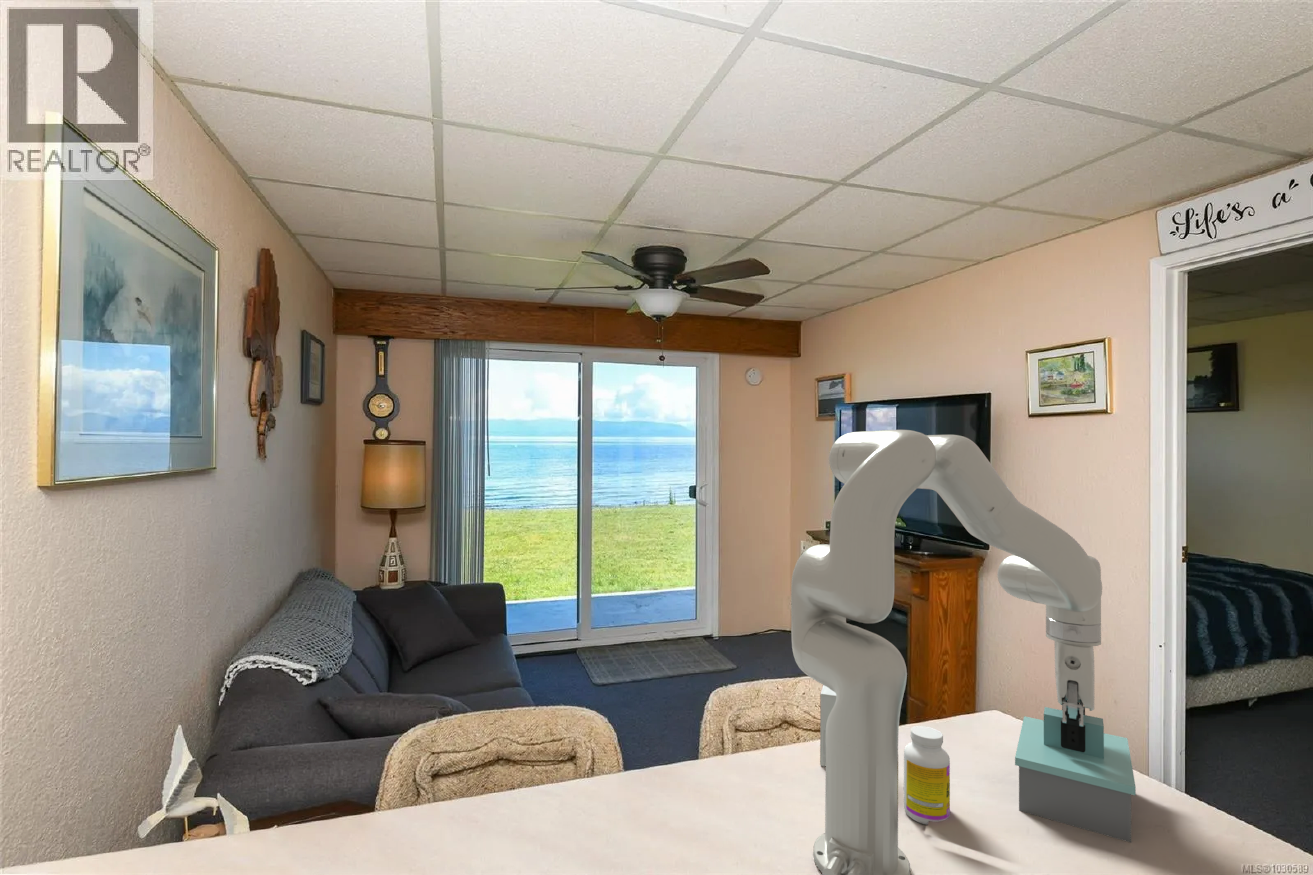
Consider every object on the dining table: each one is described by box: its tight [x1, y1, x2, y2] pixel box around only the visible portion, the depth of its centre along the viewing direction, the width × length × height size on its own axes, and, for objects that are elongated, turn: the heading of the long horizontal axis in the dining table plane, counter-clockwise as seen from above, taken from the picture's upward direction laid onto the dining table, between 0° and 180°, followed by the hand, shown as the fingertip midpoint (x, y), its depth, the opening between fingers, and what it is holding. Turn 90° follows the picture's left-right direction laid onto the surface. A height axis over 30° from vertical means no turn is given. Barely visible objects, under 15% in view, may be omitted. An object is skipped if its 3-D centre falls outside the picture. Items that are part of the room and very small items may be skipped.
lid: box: [1014, 706, 1137, 796], centre depth 102 cm, size 19×15×8 cm
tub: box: [1018, 766, 1132, 843], centre depth 102 cm, size 18×14×8 cm
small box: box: [819, 684, 837, 767], centre depth 116 cm, size 8×6×13 cm
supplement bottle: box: [903, 725, 951, 825], centre depth 98 cm, size 7×7×13 cm
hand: (1073, 738), depth 102 cm, fingers open, 8 cm apart
